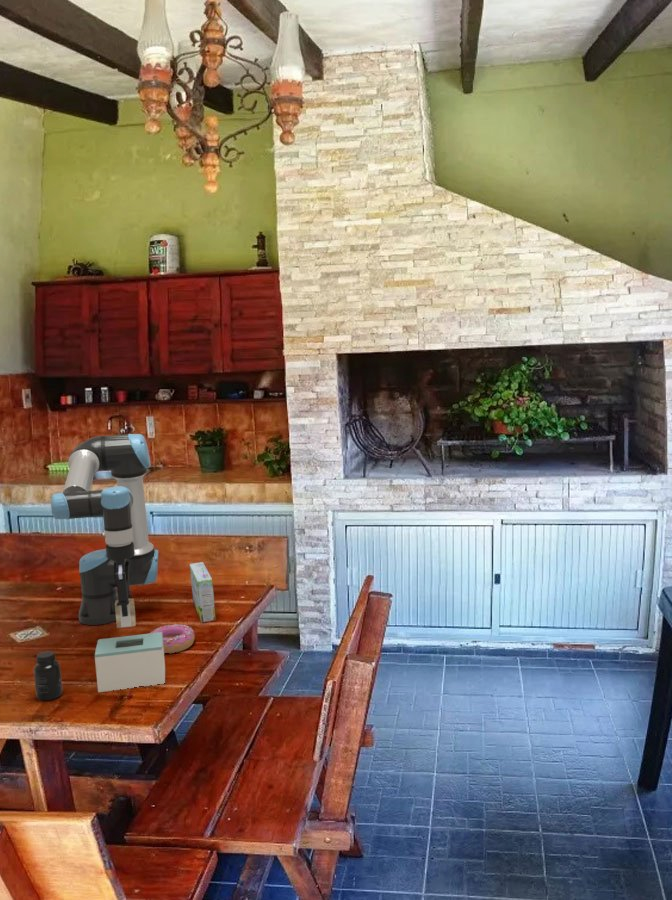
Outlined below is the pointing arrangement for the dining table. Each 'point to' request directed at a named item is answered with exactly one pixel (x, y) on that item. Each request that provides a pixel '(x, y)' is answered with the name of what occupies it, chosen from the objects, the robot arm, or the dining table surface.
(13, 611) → the dining table surface
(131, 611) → the beige rectangular block
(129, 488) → the robot arm
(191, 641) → the donut
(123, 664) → the box
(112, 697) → the dining table surface
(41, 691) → the supplement bottle
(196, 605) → the snack box
